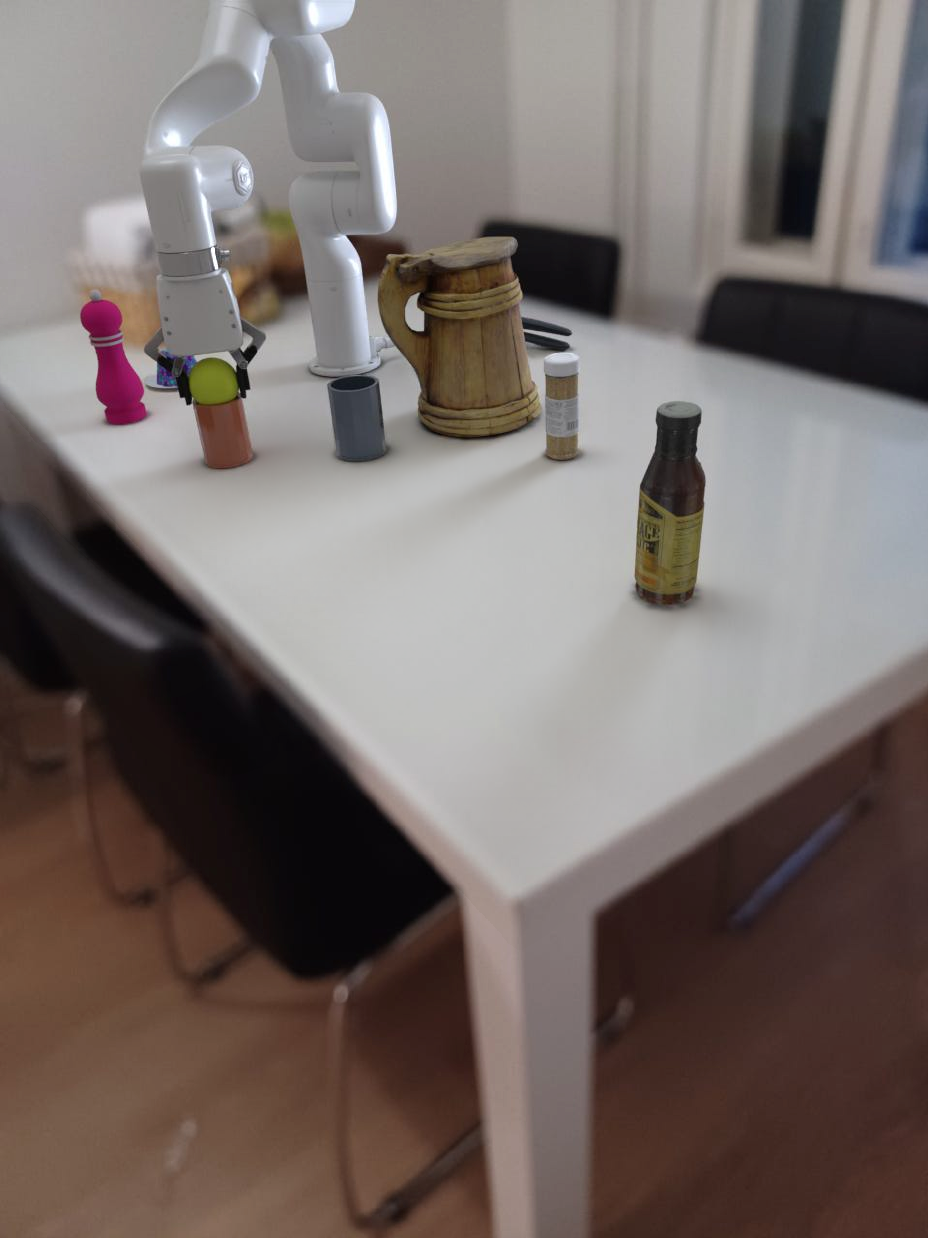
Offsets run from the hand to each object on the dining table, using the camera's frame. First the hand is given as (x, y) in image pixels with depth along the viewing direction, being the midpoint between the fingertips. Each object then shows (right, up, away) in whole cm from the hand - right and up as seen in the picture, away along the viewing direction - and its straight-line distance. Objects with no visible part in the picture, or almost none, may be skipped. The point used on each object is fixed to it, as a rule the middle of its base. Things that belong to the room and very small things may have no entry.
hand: (216, 397), depth 131 cm
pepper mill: (-20, +2, +23) cm, 30 cm away
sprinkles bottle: (+47, -8, -1) cm, 48 cm away
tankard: (+34, -1, +13) cm, 36 cm away
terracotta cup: (+1, -8, +5) cm, 9 cm away
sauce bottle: (+54, -28, -33) cm, 70 cm away
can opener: (+45, +19, +43) cm, 66 cm away
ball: (0, +2, -1) cm, 2 cm away
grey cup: (+19, -7, +4) cm, 21 cm away
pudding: (-16, +12, +38) cm, 43 cm away
